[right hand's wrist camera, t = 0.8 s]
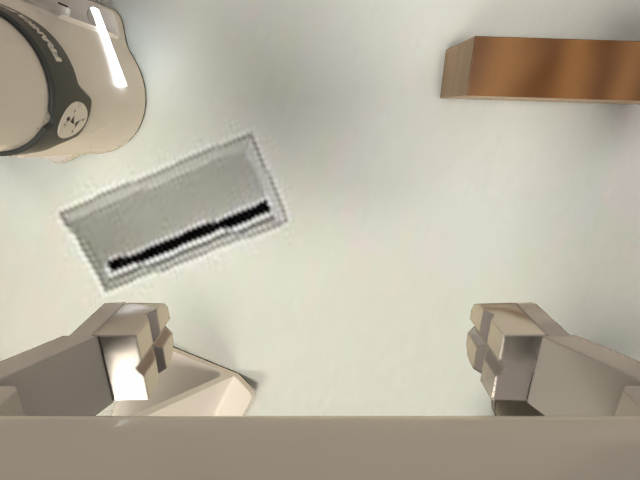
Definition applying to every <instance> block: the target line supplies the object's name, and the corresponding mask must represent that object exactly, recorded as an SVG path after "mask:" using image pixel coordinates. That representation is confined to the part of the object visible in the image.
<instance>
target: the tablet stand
mask: <svg viewBox="0 0 640 480" xmlns="http://www.w3.org/2000/svg"><path fill="white" fill-rule="evenodd" d="M159 380H160V381H159V382H158V384H157V386H156V388H155V389H154V391H153V393H152V394H151V396H150V398H149V400H121V401H117V402H116V405H115V407H114V410H113V412H112V415H111V416H245V415H246V413H247V411H248V409H249V408H250V406H251V404H252V402H253V400H254V398H255V396H256V393H255V391H254V389H253V388H252V387H251V386H250V385H249V384H248V383H247V382H246V381H245V380H244V379H243V378H242V377H241V376H240V375H239V374H238V373H235V372H233V371H230V370H228V369H225V368H223V367H220V366H218V365H215V364H213V363H211V362H208V361H206V360H203V359H201V358H198V357H196V356H193V355H191V354H188V353H186V352H184V351H181V350H179V349H176V348H174V347H173V353H172V357H171V361H170V363H169V365H168V367H167V368H166V369H165V370H163V371H162V372H160V373H159Z"/></svg>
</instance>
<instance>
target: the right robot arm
mask: <svg viewBox="0 0 640 480" xmlns="http://www.w3.org/2000/svg"><path fill="white" fill-rule="evenodd" d="M144 111H145V88H144V83H143V79H142V76H141V73H140V70H139V68H138V66H137V64H136V62H135V60H134V58H133V56H132V55H131V53H130V51H129V49H128V47H127V44H126V41H125V34H124V29H123V24H122V21H121V18H120V16H119V15H118V13H117V12H115V11H114V10H112V9H110V8H108V7H105V6H103V5H100V4H98V3H95V2H93V1H90V0H0V156H16V157H20V158H36V157H47V158H48V159H49V160H51V161H53V162H56V163H61V162H67V161H70V160H72V159H74V158H76V157H78V156H80V155H83V154H99V153H106V152H110V151H113V150H115V149H118V148H119V147H121V146H123V145H124V144H126V143H127V142H128V141H129V140H130V139H131V138H132V137H133V136H134V134H135V133H136V132H137V130H138V128H139V126H140V124H141V122H142V119H143V115H144ZM169 319H170V316H169V311H168V307H167V306H166V305H165V304H163V303H125V302H123V303H104V304H103V305H102V306H101V307H100V308H99V309H98V310H97V311H96V312H95V313H94V314H93V315H91V316H90V317H89V318H88V319H87V320H86V321H85V322H84V323H83V324H82V325H81V326H79V327H78V328H77V329H76V330H75V331H74V332H73V333H72V334H71V335H70V336H62V337H59V338H57V339H54V340H52V341H49V342H47V343H45V344H42V345H40V346H37V347H35V348H32V349H30V350H27V351H25V352H23V353H20V354H18V355H15V356H13V357H10V358H8V359H6V360H3V361H1V362H0V480H640V362H639V361H637V360H634V359H632V358H629V357H627V356H625V355H622V354H620V353H617V352H615V351H612V350H610V349H608V348H605V347H603V346H600V345H598V344H595V343H593V342H591V341H588V340H586V339H583V338H581V337H578V336H570V335H569V334H568V333H567V332H566V331H565V330H564V329H563V328H562V327H561V326H559V325H558V324H557V323H556V322H555V321H554V320H553V319H552V318H551V317H550V316H549V315H548V314H547V313H545V312H544V311H543V310H542V309H541V308H540V307H539V306H538V305H537V304H535V303H532V302H528V303H487V304H474V306H473V308H472V310H471V316H470V319H471V321H472V322H473V324H474V325H475V326H474V327H473V328H472V329H471V330H470V331H469V332H468V335H467V354H468V358H469V361H470V363H471V365H472V367H473V368H474V369H475V370H477V371H478V372H480V373H481V382H482V384H483V386H484V387H485V389H486V391H487V393H488V394H489V396H490V398H491V399H492V400H518V401H527V403H529V404H530V405H531V406H533V407H534V408H535V409H537V410H538V411H539V412H541V413H542V414H543V415H545V416H96V415H97V414H98V413H100V412H101V411H102V410H104V409H105V408H106V407H108V406H109V405H110V404H111V403H113V401H121V400H149V398H150V396H151V394H152V393H153V391H154V389H155V388H156V386H157V384H158V382H159V381H160V380H159V373H160V372H162V371H163V370H165V369H166V368H167V367H168V365H169V363H170V361H171V357H172V353H173V335H172V332H171V331H170V330H169V329H168V328H167V327H166V326H165V325H166V324H167V322H168V321H169Z"/></svg>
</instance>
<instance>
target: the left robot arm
mask: <svg viewBox="0 0 640 480" xmlns="http://www.w3.org/2000/svg"><path fill="white" fill-rule="evenodd" d="M492 409H493V412H494V414H495V415H496V416H545V415H543V414H542V413H541V412H539V411H538V410H537V409H535V408H534V407H533V406H531V405H530V404H529V403H527V401H518V400H492Z"/></svg>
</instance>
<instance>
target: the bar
mask: <svg viewBox="0 0 640 480" xmlns="http://www.w3.org/2000/svg"><path fill="white" fill-rule="evenodd" d="M441 98H450V99H482V100H513V101H545V102H577V103H608V104H640V41H614V40H583V39H551V38H520V37H488V36H475V37H473V38H471V39H469V40H467V41H465V42H463V43H461V44H459V45H456V46H454V47H452V48H450V49H448V50H446V57H445V65H444V73H443V81H442V89H441Z"/></svg>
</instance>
